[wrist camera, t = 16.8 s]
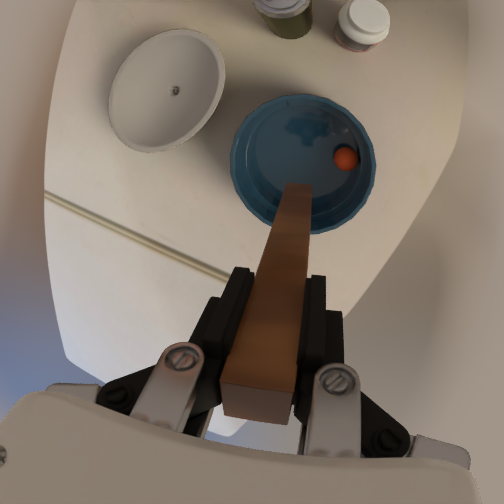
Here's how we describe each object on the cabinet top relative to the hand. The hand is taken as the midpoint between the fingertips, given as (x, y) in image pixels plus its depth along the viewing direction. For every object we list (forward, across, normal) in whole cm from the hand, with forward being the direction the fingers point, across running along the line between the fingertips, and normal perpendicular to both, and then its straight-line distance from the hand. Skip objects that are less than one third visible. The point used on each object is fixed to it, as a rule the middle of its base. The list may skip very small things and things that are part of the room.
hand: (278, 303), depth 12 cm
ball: (+27, -5, 0) cm, 28 cm away
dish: (+29, +17, -9) cm, 35 cm away
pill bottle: (+29, -6, -17) cm, 34 cm away
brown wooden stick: (+13, 0, 0) cm, 13 cm away
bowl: (+29, 0, 0) cm, 29 cm away
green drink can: (+29, +2, -18) cm, 34 cm away
